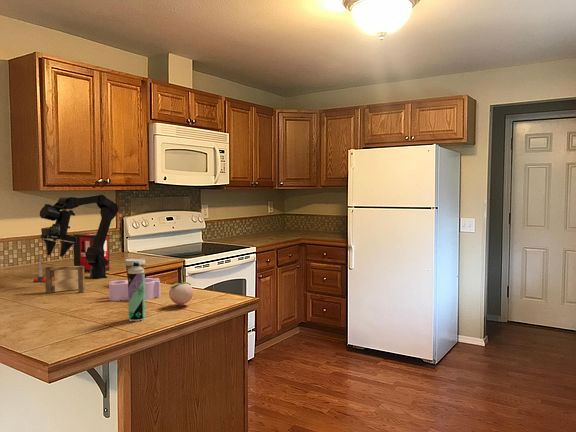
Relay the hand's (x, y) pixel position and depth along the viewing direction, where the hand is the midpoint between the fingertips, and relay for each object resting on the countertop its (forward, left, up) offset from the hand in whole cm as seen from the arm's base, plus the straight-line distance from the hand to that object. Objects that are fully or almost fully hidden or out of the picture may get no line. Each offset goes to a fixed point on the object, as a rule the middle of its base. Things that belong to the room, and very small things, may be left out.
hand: (54, 256), depth 216 cm
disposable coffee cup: (-29, +22, -14) cm, 39 cm away
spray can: (-4, +78, -14) cm, 80 cm away
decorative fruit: (-25, +72, -14) cm, 78 cm away
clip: (-18, +46, -14) cm, 52 cm away
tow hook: (-1, -18, -14) cm, 23 cm away
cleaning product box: (-28, -31, -14) cm, 44 cm away
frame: (+1, +18, -14) cm, 23 cm away
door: (0, +14, -14) cm, 20 cm away
